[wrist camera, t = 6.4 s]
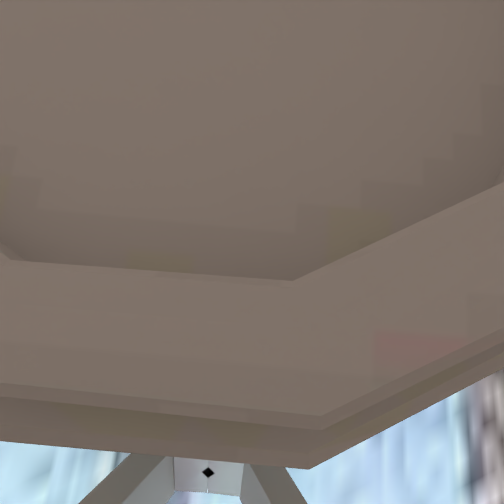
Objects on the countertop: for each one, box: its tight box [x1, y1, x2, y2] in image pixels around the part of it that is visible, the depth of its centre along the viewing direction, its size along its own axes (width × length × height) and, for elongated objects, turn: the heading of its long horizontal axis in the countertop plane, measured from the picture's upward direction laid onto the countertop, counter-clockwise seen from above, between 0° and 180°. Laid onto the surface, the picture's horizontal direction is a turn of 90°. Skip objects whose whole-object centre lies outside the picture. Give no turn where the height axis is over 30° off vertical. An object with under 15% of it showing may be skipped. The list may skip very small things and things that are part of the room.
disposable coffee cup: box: [0, 0, 504, 469], centre depth 11 cm, size 11×11×15 cm
